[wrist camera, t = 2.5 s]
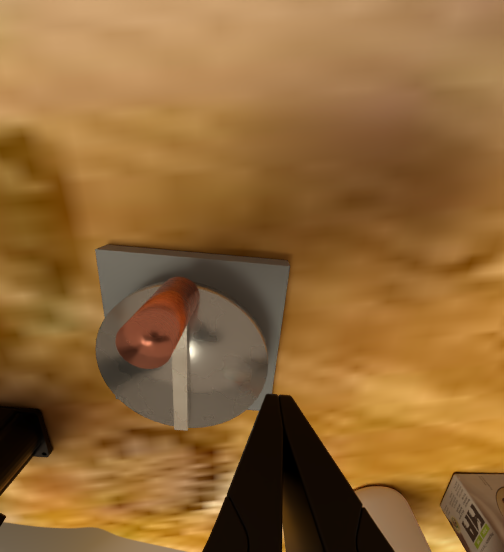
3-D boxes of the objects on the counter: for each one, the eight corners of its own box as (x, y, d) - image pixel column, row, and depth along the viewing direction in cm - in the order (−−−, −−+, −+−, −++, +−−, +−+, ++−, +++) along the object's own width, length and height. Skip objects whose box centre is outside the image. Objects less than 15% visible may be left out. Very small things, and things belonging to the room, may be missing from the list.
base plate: (268, 398, 24) (269, 411, 22) (124, 386, 24) (116, 398, 22) (287, 260, 19) (290, 266, 18) (107, 244, 19) (95, 249, 18)
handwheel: (259, 404, 22) (260, 519, 14) (124, 393, 22) (53, 503, 14) (275, 269, 18) (289, 333, 10) (108, 255, 18) (-7, 308, 10)
